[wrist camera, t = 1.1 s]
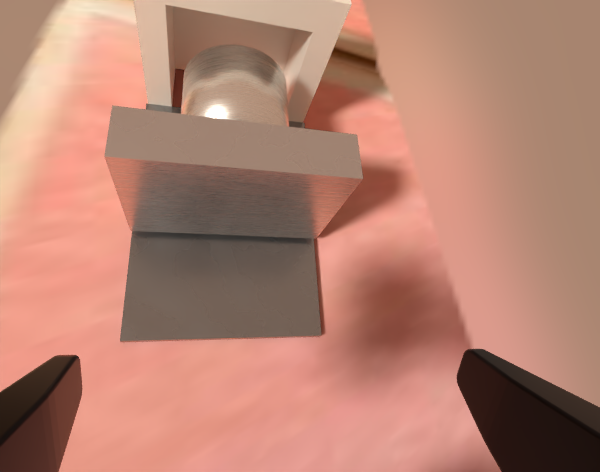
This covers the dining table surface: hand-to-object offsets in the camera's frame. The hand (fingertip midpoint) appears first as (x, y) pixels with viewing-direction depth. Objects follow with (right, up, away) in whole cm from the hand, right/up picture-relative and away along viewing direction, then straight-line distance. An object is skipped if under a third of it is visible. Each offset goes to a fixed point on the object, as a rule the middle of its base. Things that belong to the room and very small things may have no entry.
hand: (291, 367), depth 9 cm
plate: (-4, +4, +16) cm, 17 cm away
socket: (-5, +14, +20) cm, 25 cm away
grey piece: (-4, +7, +16) cm, 18 cm away
